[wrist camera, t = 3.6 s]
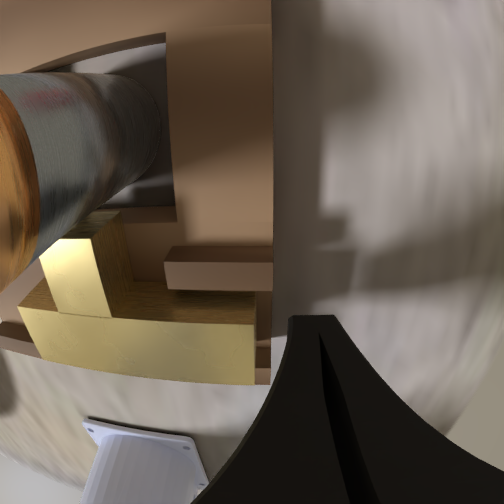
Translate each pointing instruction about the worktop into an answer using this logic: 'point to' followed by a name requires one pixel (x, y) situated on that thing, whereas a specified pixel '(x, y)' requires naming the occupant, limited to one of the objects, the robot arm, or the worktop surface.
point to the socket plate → (176, 140)
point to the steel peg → (65, 155)
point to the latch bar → (135, 314)
